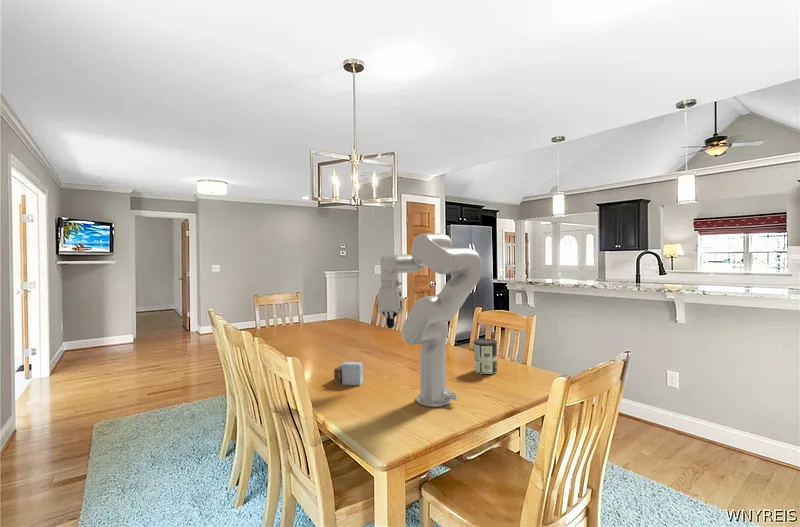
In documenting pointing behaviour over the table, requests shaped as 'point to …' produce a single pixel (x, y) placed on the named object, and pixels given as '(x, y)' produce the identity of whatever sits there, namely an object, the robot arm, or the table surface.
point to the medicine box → (352, 373)
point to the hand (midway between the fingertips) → (390, 327)
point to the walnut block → (338, 375)
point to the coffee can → (485, 356)
